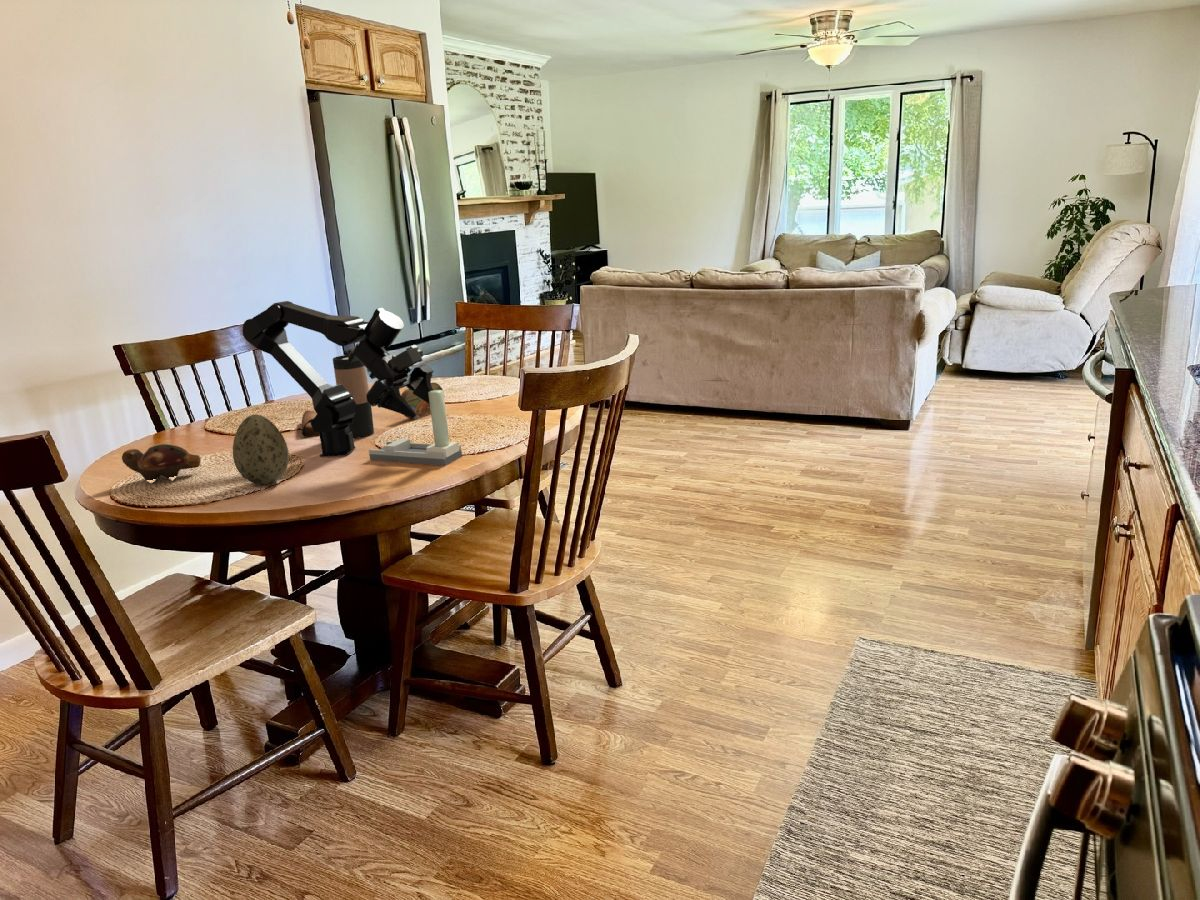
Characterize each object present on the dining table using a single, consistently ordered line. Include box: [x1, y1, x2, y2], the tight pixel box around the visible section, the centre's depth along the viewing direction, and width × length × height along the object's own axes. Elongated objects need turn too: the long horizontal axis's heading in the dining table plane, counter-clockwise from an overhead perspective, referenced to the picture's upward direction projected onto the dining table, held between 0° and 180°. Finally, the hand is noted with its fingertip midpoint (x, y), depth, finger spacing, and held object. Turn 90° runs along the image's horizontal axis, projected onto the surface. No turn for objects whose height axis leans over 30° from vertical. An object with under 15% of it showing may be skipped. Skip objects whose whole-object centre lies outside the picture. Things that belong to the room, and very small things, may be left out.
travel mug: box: [332, 354, 375, 439], centre depth 207 cm, size 8×8×20 cm
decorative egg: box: [232, 414, 290, 485], centre depth 173 cm, size 11×11×15 cm
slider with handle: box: [426, 389, 460, 458], centre depth 181 cm, size 5×5×14 cm
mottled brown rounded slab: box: [400, 381, 445, 420], centre depth 225 cm, size 15×3×8 cm, turn 148°
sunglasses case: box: [301, 410, 320, 439], centre depth 219 cm, size 18×7×7 cm
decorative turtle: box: [121, 443, 201, 481], centre depth 182 cm, size 10×15×8 cm, turn 120°
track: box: [368, 438, 463, 467], centre depth 185 cm, size 20×7×4 cm, turn 67°
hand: (427, 411), depth 181 cm, fingers open, 9 cm apart
